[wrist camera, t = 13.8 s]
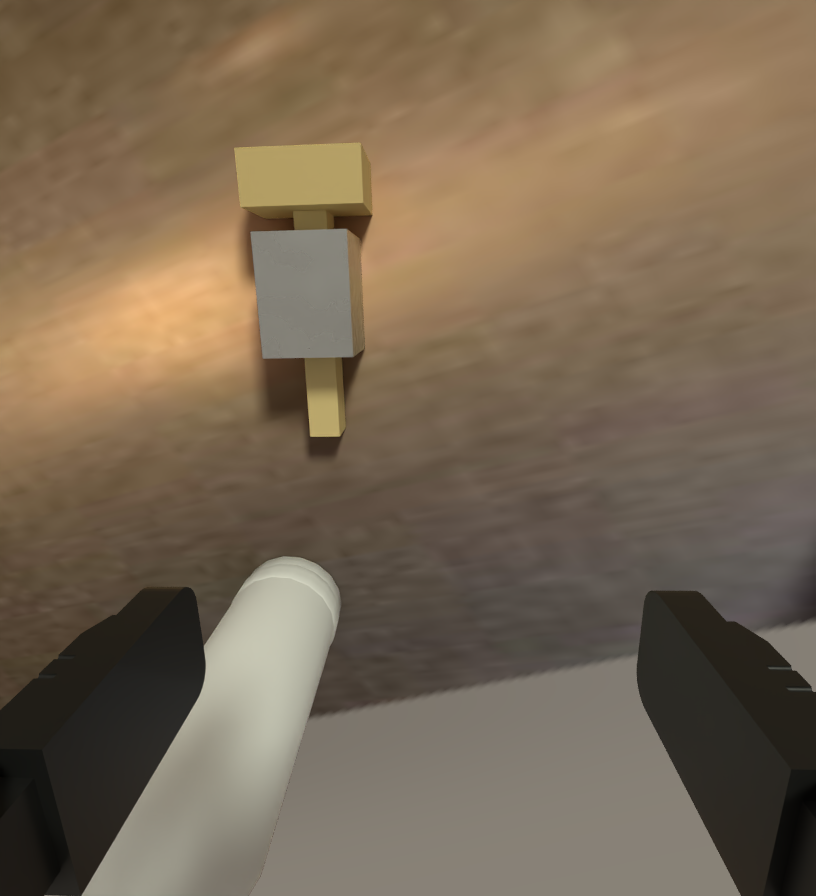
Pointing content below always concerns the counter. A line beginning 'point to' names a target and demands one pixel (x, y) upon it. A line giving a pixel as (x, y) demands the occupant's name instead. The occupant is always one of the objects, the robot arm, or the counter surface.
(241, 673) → the bottle
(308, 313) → the slotted grey block
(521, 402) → the counter surface
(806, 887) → the robot arm
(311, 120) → the counter surface
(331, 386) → the yellow t-shaped block
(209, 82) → the counter surface
